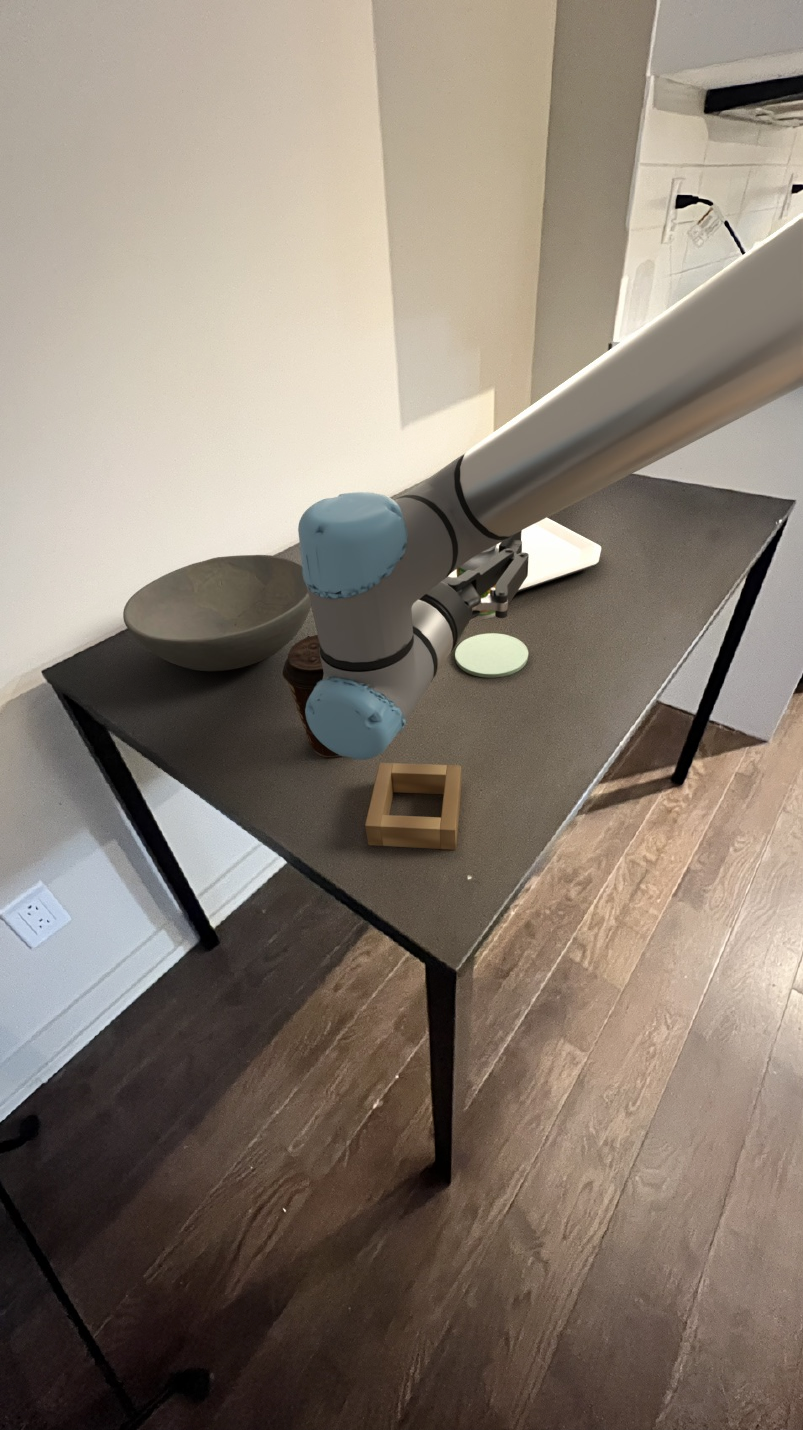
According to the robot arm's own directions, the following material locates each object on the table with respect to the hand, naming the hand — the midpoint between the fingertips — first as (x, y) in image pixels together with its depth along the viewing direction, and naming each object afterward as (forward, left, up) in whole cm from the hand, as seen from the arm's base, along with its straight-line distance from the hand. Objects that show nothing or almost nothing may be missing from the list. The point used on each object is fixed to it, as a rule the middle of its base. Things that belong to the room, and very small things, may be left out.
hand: (493, 531), depth 75 cm
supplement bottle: (+1, +5, -8) cm, 10 cm away
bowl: (+38, -1, -18) cm, 42 cm away
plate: (0, -30, -18) cm, 35 cm away
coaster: (0, 0, -18) cm, 18 cm away
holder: (+7, +29, -18) cm, 35 cm away
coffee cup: (+18, +18, -18) cm, 31 cm away
